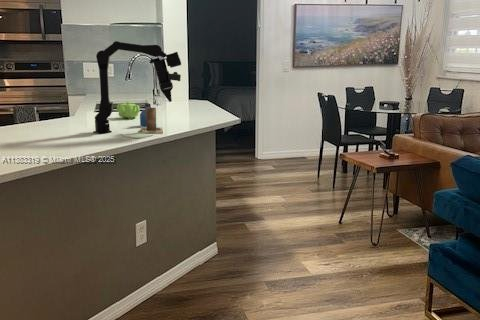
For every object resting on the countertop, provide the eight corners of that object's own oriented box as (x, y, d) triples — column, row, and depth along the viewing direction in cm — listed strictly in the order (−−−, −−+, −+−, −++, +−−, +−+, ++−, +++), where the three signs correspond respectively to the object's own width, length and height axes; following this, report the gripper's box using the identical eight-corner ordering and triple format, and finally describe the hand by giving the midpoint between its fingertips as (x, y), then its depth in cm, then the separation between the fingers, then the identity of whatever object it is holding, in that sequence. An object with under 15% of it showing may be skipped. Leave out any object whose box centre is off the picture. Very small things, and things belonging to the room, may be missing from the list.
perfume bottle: (149, 124, 253) (149, 102, 251) (156, 125, 249) (155, 103, 246) (140, 125, 249) (139, 103, 246) (146, 127, 245) (145, 104, 242)
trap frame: (140, 133, 225) (140, 131, 225) (140, 129, 236) (140, 127, 235) (162, 133, 227) (162, 131, 227) (162, 129, 238) (162, 127, 237)
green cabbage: (116, 117, 276) (115, 101, 274) (135, 116, 282) (134, 100, 279) (121, 120, 266) (120, 103, 264) (140, 119, 271) (140, 102, 269)
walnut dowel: (144, 131, 230) (143, 108, 228) (150, 130, 235) (150, 107, 232) (152, 132, 228) (151, 109, 225) (158, 131, 232) (157, 108, 229)
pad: (122, 136, 217) (122, 135, 217) (136, 133, 225) (136, 132, 225) (138, 139, 212) (138, 138, 212) (152, 135, 221) (152, 134, 221)
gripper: (178, 67, 217) (187, 98, 222) (176, 65, 235) (184, 94, 240) (155, 72, 216) (164, 104, 220) (155, 70, 234) (163, 100, 238)
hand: (170, 100), depth 230 cm, fingers open, 9 cm apart
